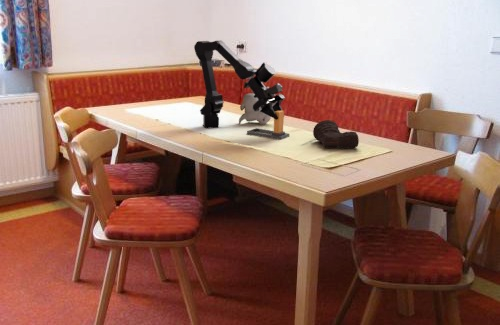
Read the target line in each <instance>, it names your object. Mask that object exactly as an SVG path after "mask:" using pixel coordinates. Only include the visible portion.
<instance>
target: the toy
mask: <svg viewBox="0 0 500 325" xmlns="http://www.w3.org/2000/svg"><path fill="white" fill-rule="evenodd" d="M254 95H255V94H254V93H253V92H252V93H251V92H250V93H246V94H244V95H243V98H242V103H241V104H240V107H239V108H240V111H243V110H244V113H243V114H242V115H241V116H240V117H239V119H238V125H240V124H241V122H243V120H245V121H246V122H249V123H250V122H254V121H257V122H258V124H259V125H266V124H268V123H269V122H270V120H271V118H272V117H270V116H268V115H266V114H264V113H262V112H260V110H261V107H260V108H259V111H257V112H255V111H254V110H253V105H254V104H255V103H256V102H257V101H258V98H254Z"/></svg>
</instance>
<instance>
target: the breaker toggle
mask: <svg viewBox="0 0 500 325" xmlns="http://www.w3.org/2000/svg"><path fill="white" fill-rule="evenodd" d="M275 113H276V115H277V116H278V119H277V120H276V119H274V118H273V131H274V132H272V134H271V135H276V136H282V135H284V134H285V133H286V131H284V120H285V118H284V117H285V110H282V111H280V110H279V111H275Z"/></svg>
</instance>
